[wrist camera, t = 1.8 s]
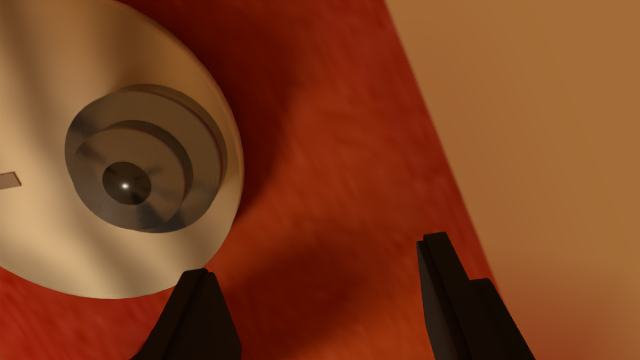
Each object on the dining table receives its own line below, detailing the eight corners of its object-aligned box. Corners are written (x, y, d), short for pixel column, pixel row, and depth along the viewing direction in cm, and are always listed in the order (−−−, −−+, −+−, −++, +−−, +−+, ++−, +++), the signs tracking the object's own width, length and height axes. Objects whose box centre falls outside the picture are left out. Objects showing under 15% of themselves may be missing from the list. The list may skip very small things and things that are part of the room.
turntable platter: (185, -53, 23) (172, -57, 21) (276, 260, 32) (273, 277, 30) (-152, 25, 25) (-192, 28, 23) (23, 298, 34) (5, 316, 32)
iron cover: (203, 70, 24) (177, 87, 20) (243, 202, 28) (229, 240, 23) (62, 98, 25) (9, 120, 21) (120, 222, 28) (85, 262, 24)
